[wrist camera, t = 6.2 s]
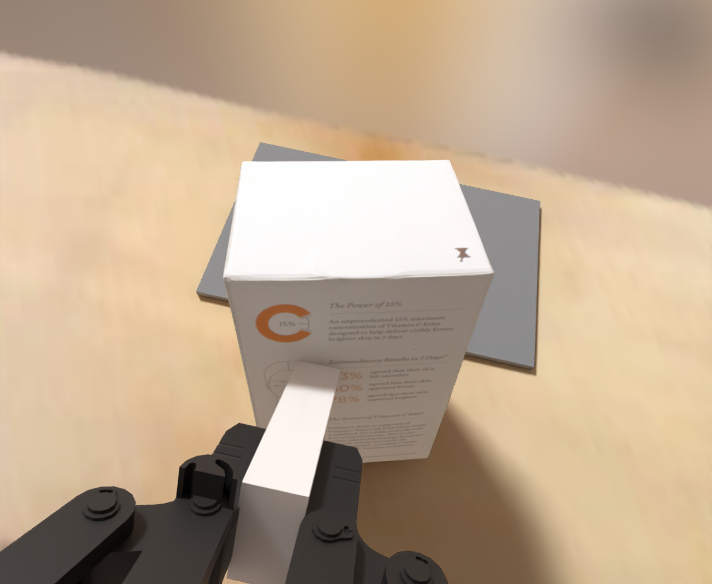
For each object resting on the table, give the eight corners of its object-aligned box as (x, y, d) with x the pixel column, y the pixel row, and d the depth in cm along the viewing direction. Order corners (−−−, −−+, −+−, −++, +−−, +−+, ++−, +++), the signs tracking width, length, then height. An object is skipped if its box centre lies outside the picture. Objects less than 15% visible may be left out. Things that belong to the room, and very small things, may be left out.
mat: (537, 204, 34) (539, 200, 34) (531, 369, 28) (534, 366, 28) (260, 146, 35) (260, 142, 35) (197, 294, 29) (196, 291, 29)
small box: (410, 354, 28) (454, 155, 19) (430, 461, 24) (502, 274, 14) (267, 360, 27) (238, 156, 18) (262, 471, 23) (219, 281, 14)
